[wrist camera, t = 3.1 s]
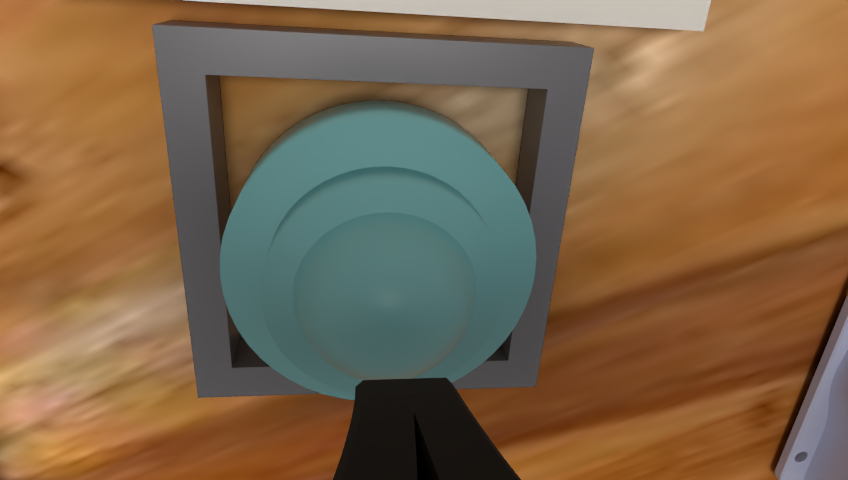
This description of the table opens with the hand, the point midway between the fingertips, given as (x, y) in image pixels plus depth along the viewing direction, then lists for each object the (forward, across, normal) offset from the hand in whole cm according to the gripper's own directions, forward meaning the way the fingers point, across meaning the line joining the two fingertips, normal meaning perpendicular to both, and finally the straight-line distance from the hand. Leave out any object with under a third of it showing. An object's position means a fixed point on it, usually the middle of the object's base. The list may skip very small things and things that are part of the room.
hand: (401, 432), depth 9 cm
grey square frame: (+9, 0, 0) cm, 9 cm away
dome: (+7, 0, 0) cm, 7 cm away
